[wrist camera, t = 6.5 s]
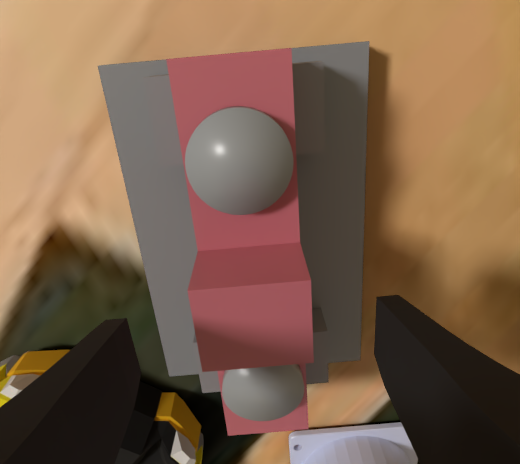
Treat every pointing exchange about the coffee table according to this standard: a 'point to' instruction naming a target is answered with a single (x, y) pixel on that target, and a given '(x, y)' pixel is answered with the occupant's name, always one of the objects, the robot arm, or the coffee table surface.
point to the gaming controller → (141, 422)
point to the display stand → (309, 197)
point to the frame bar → (246, 234)
